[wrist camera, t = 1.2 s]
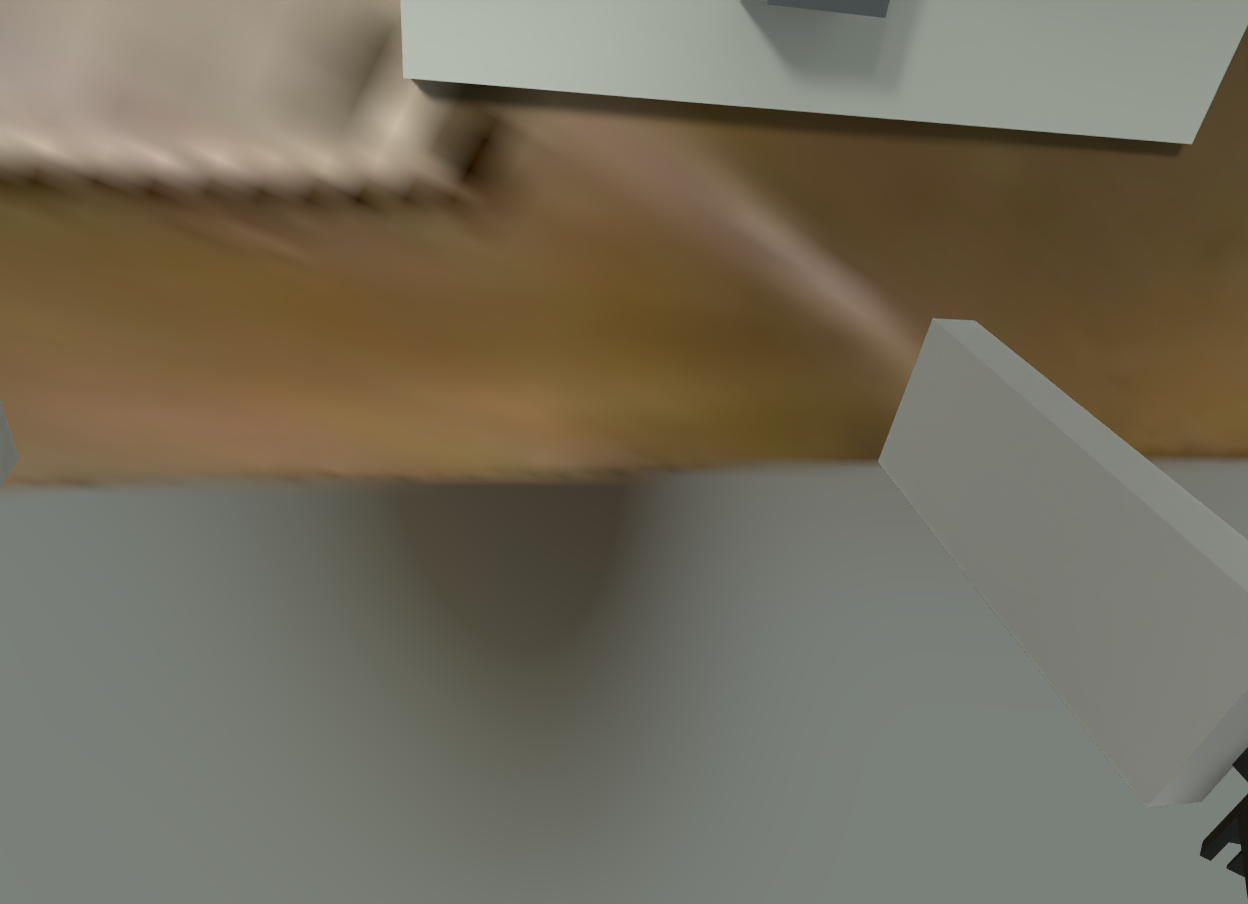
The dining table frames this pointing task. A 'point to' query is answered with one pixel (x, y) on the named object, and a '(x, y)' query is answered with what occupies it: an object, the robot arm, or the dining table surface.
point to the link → (837, 6)
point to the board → (855, 57)
